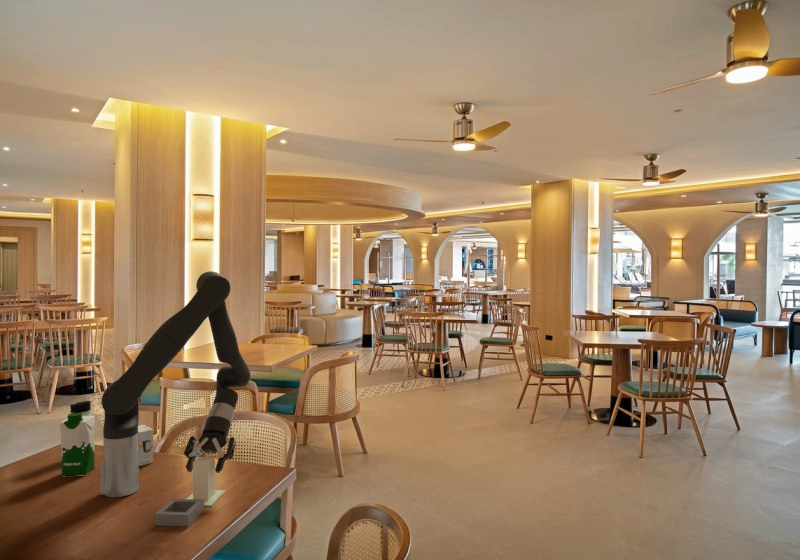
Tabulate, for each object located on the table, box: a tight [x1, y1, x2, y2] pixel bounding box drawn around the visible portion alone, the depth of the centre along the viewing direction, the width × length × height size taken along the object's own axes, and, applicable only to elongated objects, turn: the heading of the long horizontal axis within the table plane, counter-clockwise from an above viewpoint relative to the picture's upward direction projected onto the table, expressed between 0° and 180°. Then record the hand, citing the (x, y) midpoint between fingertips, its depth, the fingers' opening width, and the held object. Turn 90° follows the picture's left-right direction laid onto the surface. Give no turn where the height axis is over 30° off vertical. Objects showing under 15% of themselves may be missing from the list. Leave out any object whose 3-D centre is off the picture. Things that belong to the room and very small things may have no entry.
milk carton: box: [59, 413, 96, 477], centre depth 172 cm, size 9×9×20 cm
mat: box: [186, 489, 227, 508], centre depth 153 cm, size 9×10×1 cm
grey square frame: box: [154, 498, 205, 527], centre depth 141 cm, size 9×9×3 cm
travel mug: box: [69, 400, 92, 416], centre depth 187 cm, size 6×7×20 cm
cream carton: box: [192, 456, 216, 500], centre depth 153 cm, size 4×4×11 cm
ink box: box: [138, 424, 154, 467], centre depth 182 cm, size 9×5×12 cm, turn 50°
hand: (203, 471), depth 152 cm, fingers open, 8 cm apart
